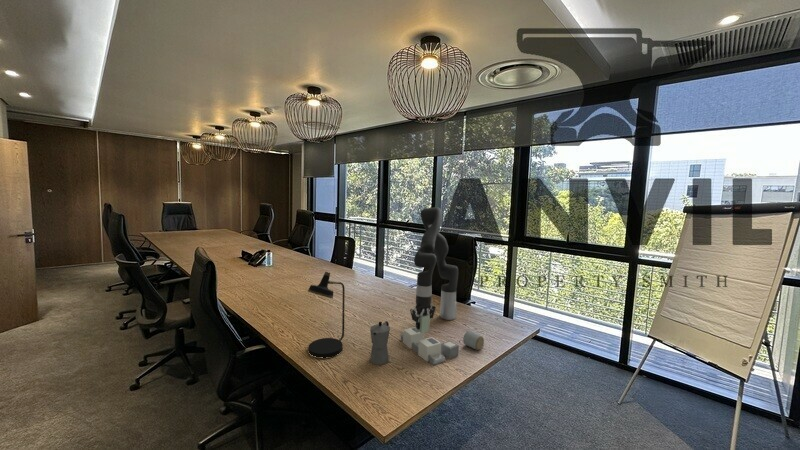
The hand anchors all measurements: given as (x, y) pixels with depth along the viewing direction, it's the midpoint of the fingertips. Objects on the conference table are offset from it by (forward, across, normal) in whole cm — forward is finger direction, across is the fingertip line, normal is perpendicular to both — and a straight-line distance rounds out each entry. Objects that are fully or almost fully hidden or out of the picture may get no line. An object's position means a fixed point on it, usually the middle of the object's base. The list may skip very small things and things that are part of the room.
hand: (422, 327), depth 153 cm
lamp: (+12, +40, -22) cm, 47 cm away
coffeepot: (+12, +22, -2) cm, 25 cm away
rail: (+11, 0, 0) cm, 11 cm away
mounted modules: (+11, 0, 0) cm, 11 cm away
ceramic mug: (+11, -26, +10) cm, 30 cm away
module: (+1, 0, 0) cm, 1 cm away
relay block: (+11, -9, +10) cm, 18 cm away
